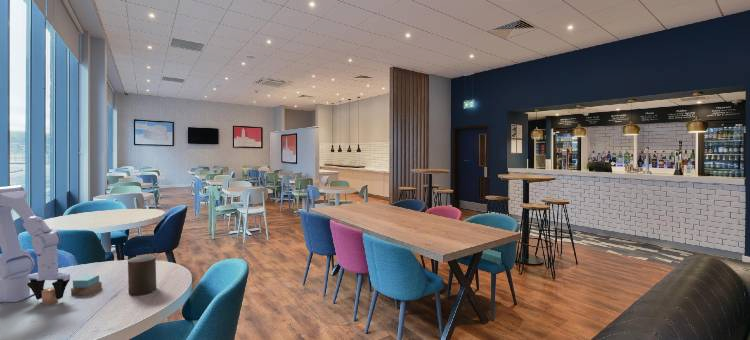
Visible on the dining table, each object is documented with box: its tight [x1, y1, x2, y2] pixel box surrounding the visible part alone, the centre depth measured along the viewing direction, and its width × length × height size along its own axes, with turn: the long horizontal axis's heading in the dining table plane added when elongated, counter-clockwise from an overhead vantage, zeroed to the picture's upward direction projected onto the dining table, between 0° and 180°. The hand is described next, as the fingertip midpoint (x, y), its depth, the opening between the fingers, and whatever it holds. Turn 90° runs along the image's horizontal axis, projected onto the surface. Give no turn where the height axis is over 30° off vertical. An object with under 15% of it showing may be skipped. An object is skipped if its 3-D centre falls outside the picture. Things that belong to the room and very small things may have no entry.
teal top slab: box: [72, 274, 100, 288], centre depth 147 cm, size 6×6×3 cm
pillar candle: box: [127, 255, 157, 296], centre depth 147 cm, size 10×10×15 cm
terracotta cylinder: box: [41, 286, 59, 306], centre depth 137 cm, size 4×4×5 cm
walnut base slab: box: [70, 281, 103, 296], centre depth 147 cm, size 7×7×3 cm
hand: (49, 298), depth 137 cm, fingers open, 7 cm apart
